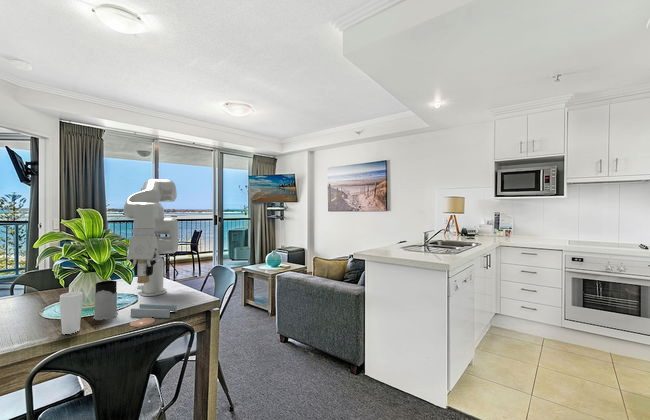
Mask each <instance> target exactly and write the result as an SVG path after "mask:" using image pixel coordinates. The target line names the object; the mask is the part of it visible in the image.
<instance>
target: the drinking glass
mask: <svg viewBox="0 0 650 420" xmlns="http://www.w3.org/2000/svg"><path fill="white" fill-rule="evenodd" d="M83 297H84V295H83V292H82V291H71V292H66V293H62V294H60V295H59V302H58V303H59V314H60V315H59V316H60V323H61V334H62V335H65V334H70V335H72V334H71V333H74V334H76V333H78V332H79V331H80V330H81V318H82V311H83V303H84V300H83V299H84V298H83ZM77 331H78V332H77ZM75 332H76V333H75ZM65 336H66V335H65Z"/></svg>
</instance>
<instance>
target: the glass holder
mask: <svg viewBox="0 0 650 420" xmlns="http://www.w3.org/2000/svg"><path fill="white" fill-rule="evenodd" d="M117 284H118V283H117V280H103V281H99V282H95V287H94V288H95V290H94V291H95V294H94V315H93V318H92V319H93V320H94V319H95V321H104V320H103V319H105V320H110V319H113V318H116V317H117V316H118V315H119V313H118V310H117V307H118V306H117V303H118V301H117V300H118V298H117V297H118V292H117V287H118V286H117ZM109 318H110V319H109Z"/></svg>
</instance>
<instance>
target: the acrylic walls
mask: <svg viewBox="0 0 650 420" xmlns="http://www.w3.org/2000/svg"><path fill="white" fill-rule="evenodd" d="M138 306H139V308H137V307H136V308H133V307H132V308H130V317H131V318H152V317H154V319H159V318H160V319H169V318H170V315H171V313H170V311H176V310H177V304H157V303H156V304H155V303H139V305H138ZM177 311H178V310H177ZM177 311H176V312H177Z"/></svg>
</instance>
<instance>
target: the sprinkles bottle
mask: <svg viewBox="0 0 650 420" xmlns="http://www.w3.org/2000/svg"><path fill="white" fill-rule="evenodd" d="M147 267H148V264H147V260H138V269H137V275H136V276H137V281H136V283H137V284H144V283H148V282H149V281H150V280H149V276H146V268H147Z"/></svg>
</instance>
